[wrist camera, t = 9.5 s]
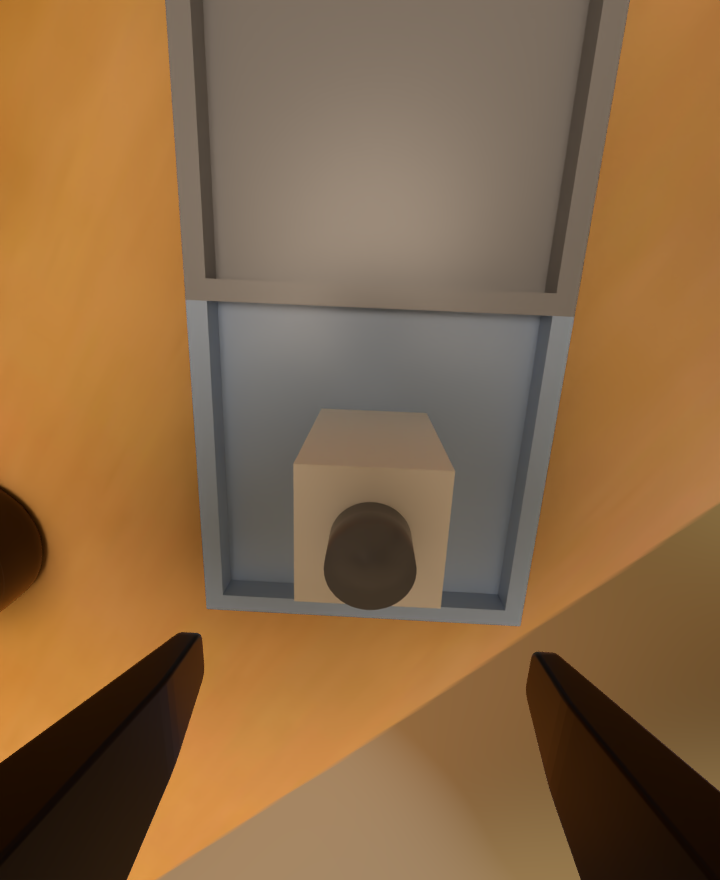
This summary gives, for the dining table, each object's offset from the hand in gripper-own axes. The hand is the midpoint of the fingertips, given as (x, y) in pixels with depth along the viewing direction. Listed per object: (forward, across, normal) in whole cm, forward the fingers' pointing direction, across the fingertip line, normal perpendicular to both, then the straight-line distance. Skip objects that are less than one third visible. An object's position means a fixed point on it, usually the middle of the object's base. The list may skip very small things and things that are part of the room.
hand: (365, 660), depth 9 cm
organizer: (+12, 0, -7) cm, 14 cm away
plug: (+12, 0, 0) cm, 12 cm away
